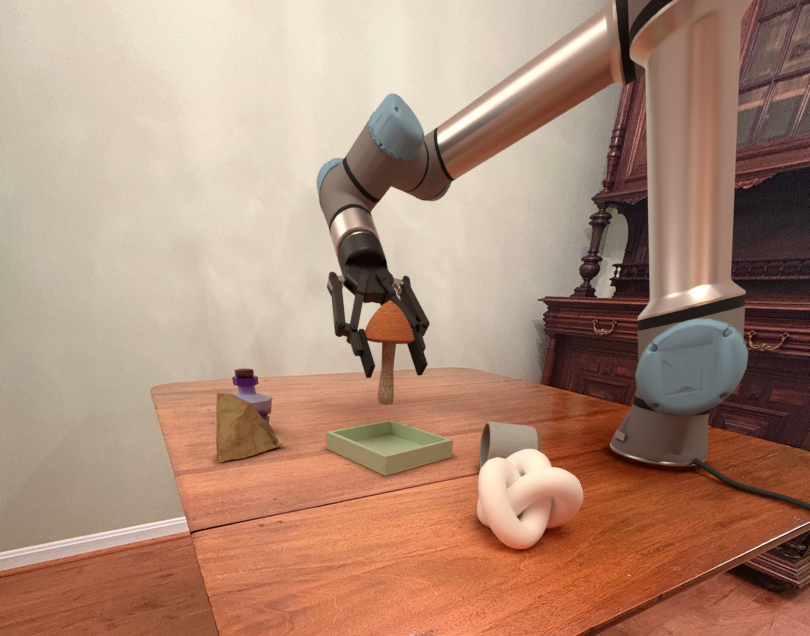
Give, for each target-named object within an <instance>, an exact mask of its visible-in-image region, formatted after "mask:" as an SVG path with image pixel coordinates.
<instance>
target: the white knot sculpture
mask: <svg viewBox="0 0 810 636" xmlns="http://www.w3.org/2000/svg"><path fill="white" fill-rule="evenodd" d="M549 459H550V458H548V456H547V455H546V454H545V453H543V452H541V451H540V452H539V451H538V450H535V449H524V450H521V451H518V452H516V453H514V454H512V455H510V456H509V457H507V458H506V459H504V458H499V457H496V458H493V459H490V460H488V461H487V462H486V463H485V464H484V465H483V466H482V467H481V468H480V470H479V473H478V479H477V493H478V500H477V503H476V504H477V505H476V515H477V518H478V520H479V522H480V523H481V524H482V525H484V526H486V527H487V528H490V530H491V531H492V533H493V534H494V535H495V536H496V538H498V540H499V541H500V542H501V543H503V544H504V545H505V546H506V547H509V548H510V549H514V550H515V549H516V550H525V549H529V548H531V547H533V546H534V545H535V544H536V543H538V541H539V540H540V539H541V538H542V536H543V535H544V533H545V530H546V529H554V528H557V527H561V526H562V525H564V524H566V523H568V522H569V521H571V520H572V519H574V518H575V516H576V515H577V514H578V513H579V511H580V509H581V507H582V504H583V502H584V490H583V486H582V484H581V481H580V480H579V479H578V477H577V476H576V475H574V474H572V473H571V472H570V471H568V470H566V469H564V468H561V467H555V466H552V462H551V461H550V460H549Z"/></svg>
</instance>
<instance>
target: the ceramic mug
mask: <svg viewBox="0 0 810 636" xmlns="http://www.w3.org/2000/svg"><path fill="white" fill-rule="evenodd" d="M524 449H535V450H538V451H539V452H541V450H542V438H541V433H540V431H539V430H538V429H537V428H536V427H533V426H530V425H525V424H516V423H515V424H514V423H507V422H500V421H499V422H498V421H490V420H488V421H487V422H486V423H485V424H484V426H483V428H482V432H481V437H480V443H479V454H478V455H479V458H478V459H479V460H478V461H479V466H480V467H479V468H480V469H481V467H482V466H483V465H484V464H485V463H486V462H487V461H488V460H490V459H493V458H496V457H499V458H504V459H506V458H507V457H509V456H510V455H512V454H514V453H516V452H518V451H521V450H524Z"/></svg>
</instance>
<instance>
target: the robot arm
mask: <svg viewBox="0 0 810 636" xmlns="http://www.w3.org/2000/svg"><path fill="white" fill-rule="evenodd" d="M752 2H754V0H607V1H606V4H605V5H604V6H603V8H601V9H600V10H598V11H597V12H596V13H594V14H593V15H592V16H590V17H589V18H587V19H586V20H584V21H583V22H582V23H580V24H579V25H578V26H576V27H575V28H573V29H572V30H571V31H569V32H568V33H566V34H565V35H564V36H562V37H561V38H559V39H557V41H555V42H554V43H553V44H551V45H549V46H548V47H547V48H545V49H544V50H542V51H541V52H540V53H538V54H537V55H536V56H534V57H533V58H531V59H530V60H529V61H527V62H526V63H524V65H522V66H519V68H517V69H516V70H515V71H513V72H512V73H511V74H509V75H508V76H506V77H505V78H503V79H502V80H500V81H499V82H498V83H497V84H495V85H494V86H493V87H491V88H489V89H488V90H487V91H485V92H484V93H483V94H481V95H480V96H479V97H477V98H476V99H475V100H473V101H471V102H470V103H468V104H467V105H466V106H465V107H463V108H462V109H460V110H459V111H458V112H456V113H455V114H453V115H452V116H451V117H449V118H448V119H446V120H445V121H444V122H442V123H441V124H440V125H439V126H437V127H435V128H434V129H433V130H431V131H429V132H428V133H427V134H425V131H424V129H423V127H422V124H421V122H420V121H419V118H418V117H417V116H416V114H415V112H414V111H413V109H412V108H411V106H410V105H409V104H408V103H406V101H405V100H404V99H403V98H402V97H401V96H400V95H399V94H397V93H394V92H393V93H388V94H386V96H384V98H383V100H382V101H381V103H380V104H378V106H377V108H376V109H375V110H374V111H372V113H371V115H370V116H369V118H368V120H367V122H366V124H365V125H364V126H363V128H362V130H361V131H360V133H359V134H358V136H357V138H355V141H354V142H353V144H352V145H351V147H350V149H349V150H348V152H347V153H346V155H345V156H344V157H343V158H342V157H334V158H331V159H330V160H329V161H327V162H325V163H323V164H322V166H321V167H320V169H319V170H318V172H317V177H316V192H317V196H318V203H319V206H320V209H321V212H322V213H323V216H324V219H325V222H326V224H327V225H326V226H327V228H328V230H329V231H328V232H329V236H330V239H331V242H332V246H333V249H334V252H335V255H336V258H337V263H338V266H339V268H340V272H341V275H338V274H337V273H336V272H335V271H329V272H328V277H327V283H326V289H327V291H328V293H329V296H330V297H331V306H332V307H331V308H332V316H333V317H332V318H333V327H334V335H335V337H338V338H342V337H346V339H345V340H346V343H347V344H349V345H350V346H351V347H350V348H351V350H352V354H353V355H354V356H355V357H359V359H360V362H361V365H362V369H363V371H364V375H365V378H366V379H371V378H372V376H373V374H374V371H375V368H376V363H375V361H374V357H373V354H372V351H371V347H370V344H369V341H368V340H367V337H366V334H365V329H364V328H359V325H360V320H361V313H362V310H363V309H362V308H363V304H370V303H374V304H379V305H380V307H381V306H382V305H383V304H385V303H386V302H388V301H390V300H391V301H392V302H393V303H395V304H396V305H397V306H398V307H399V308H400V309H401V311H402V312H403V313H404V315H405V316H406V318H407V320H408V322H409V324H410V326H411V329H412V332H413V335H414V339H415V340H414V341H413V342H412V343H408V344H406V345H407V349H408V351H409V354H410V357H411V361H412V363H413V366H414V370H415V372H416V375H417V377H418V376H423V374H424V372H425V370H426V368H427V367H428V365H429V364H428V360H427V358H426V355H425V350H426V349H427V348H426V346H427V345H426V343H425V340H424V336H425V335H426V333H427V331H428V329H429V327H430V324H431V323H430V321H429V319H428V317H427V315H426V313H425V311H424V309H423V307H422V306H421V303H420V302H419V300H418V298H417V296H416V294H415V292H414V290H413V288H412V284H411V279H410V277H409V276H408V275H403V276H402V278H401V279H400V278H395V277H394V275H393V274H392V273H391V272H390V271H389V266H388V261H387V257H386V255H385V252H384V251H385V250H384V248H383V245H382V243H381V240H380V236H379V233H378V231H377V227H376V225H375V222H374V219H373V216H372V211H373V210H374V208H375V207H376V206H377V205H378V204H379V202H381V200H382V199H383V198H384V196H385V195H386V194H387V192H388V191H389V190H390V188H394V189H396V190H399V191H401V192H403V193H406V194H408V195H410V196H412V197H414V198H416V199H417V200H420V201H423V202H437V201H439V200H440V199H442V198H444V196H445V195H446V194H447V193H448V191H449V189H450V188H451V185H452V183H453V182H454V181H456V180H458V179H459V178H460V177H462V176H464V175H466V174H467V173H468V172H470V171H472V170H473V169H476V167H478V166H480V165H481V164H483V163H485V162H487V161H488V160H490V159H491V158H493V157H495V156H496V155H498V154H500V153H501V152H503V151H505V150H506V149H508V148H509V147H511V146H513V145H514V144H517V143H518V142H519V141H521V140H522V139H524V138H525V137H528V136H529V135H530V134H532V133H534V132H536V131H537V130H539V129H541V128H543V127H545V125H547V124H549V123H551V122H552V121H554V120H555V119H557V118H559V117H560V116H562V115H564V114H566V113H567V112H568V111H570V110H572V109H573V108H575V107H577V106H579V105H580V104H581V103H583V102H585V101H586V100H588V99H590V98H591V97H593V96H595V95H596V94H598V93H600V92H601V91H603V90H604V89H606V88H608V87H609V86H611V85H612V84H617V85H619V86H622V87H626V86H627V85H629V84H631V83H633V82H634V81H636V80H637V79H639V78H642V77H643V76H645V113H646V114H645V116H646V117H645V120H646V162H647V163H646V164H647V165H646V168H647V170H646V171H647V210H648V211H647V220H648V221H647V223H648V227H647V228H648V273H649V275H648V276H649V301H648V303H647V305H646V306H645V307H644V309H643V310H642V311H641V313H640V314H638V316H637V320H636V321H637V322H636V323H637V357H638V358H637V359H638V362H637V364H636V369H635V372H634V373H635V374H634V381H635V388H636V390H635V394H634V397H633V401H632V405H631V406H630V410H629V411H628V413H627V414H626V416H625V417H624V418H623V420H622V422H621V423H620V425H619V427H618V428H617V429H615V433H614V434H613V436H612V438H611V441H610V442H609V447H608V452H609V453H610V454H611V455H612V456H614V457H616V458H617V459H620V460H622V461H624V462H626V463H630V464H634V465H637V466H640V467H641V466H642V467H645V468H651V469H657V470H664V471H694V470H698V469H700V468H701V470H704V471H706V472H707V473H709V474H711V475H712V476H714V477H715V478H716V479H718V480H719V481H720V482H722V483H724V484H726V485H728V486H731V487H733V488H735V489H738V490H740V491H744V492H748V493H751V494H755V495H759V496H762V497H765V498H769V499H774V500H776V501H781V502H783V503H786V504H790V505H793V506H795V507H798V508H801V509H803V510H806V511H808V512H810V502H806V501H803V500H800V499H798V498H795V497H792V496H790V495H784V494H783V493H778V492H775V491H771V490H767V489H762V488H759V487H755V486H752V485H748V484H745V483H741V482H739V481H737V480H734V479H732V478H730V477H728V476H727V475H724V474H723V473H722V472H720V471H718V470H717V469H716V468H715V467H713V466H710V464H708V463H706V461H707V459H708V453H709V418H710V414H711V412H712V409H713V408H715V407H717V406H719V405H721V404H722V403H723V402H724V401H725V400H726V399H727V398H728V397H730V395H731V394H732V393H733V392H734V391H735V390H736V389H737V388H738V386H739V384H740V382H741V381H742V379H743V377H744V375H745V374H746V370H747V367H748V363H749V350H748V348H747V342H746V341H745V339H744V336H745V315H746V294H747V291H746V290H745V289H744V288H742V287H741V286H739V285H738V284H737V283H735V282H734V280H732V259H733V258H732V257H733V236H734V235H733V233H734V209H735V189H736V188H735V187H736V184H735V183H736V165H737V163H736V160H737V138H738V137H737V136H738V135H737V134H738V114H739V112H738V111H739V90H740V89H739V87H740V64H741V63H740V62H741V42H742V41H741V40H742V19H743V17H744V15H745V13H746V12H747V10H748V9H749V7H750V6H751V4H752ZM343 288H345V289H347V290H348V292H350V293H351V294H352V295H353V296H354V299H353V302H352V303H353V304H352V308H351V309H352V310H351V314H350V320H349V322H346V314H345V313H346V312H345V304H344V293H343V290H344V289H343Z"/></svg>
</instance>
